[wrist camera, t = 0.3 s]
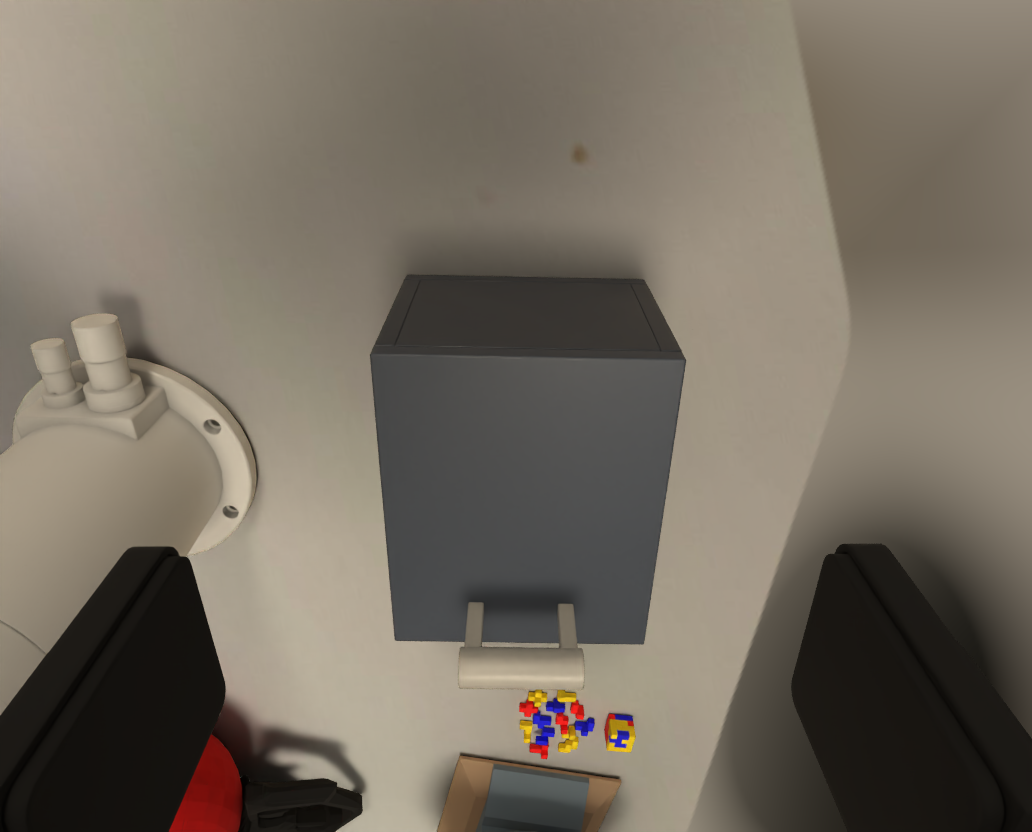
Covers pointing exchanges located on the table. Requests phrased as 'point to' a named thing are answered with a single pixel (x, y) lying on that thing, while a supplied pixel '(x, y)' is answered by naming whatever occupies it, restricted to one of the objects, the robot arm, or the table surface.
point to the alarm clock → (524, 799)
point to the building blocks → (616, 728)
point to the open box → (526, 314)
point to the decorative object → (259, 801)
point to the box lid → (523, 500)
